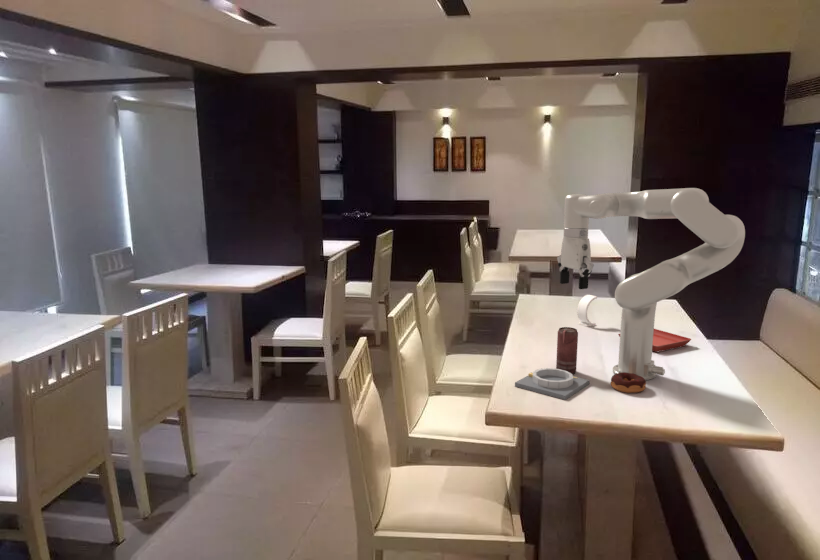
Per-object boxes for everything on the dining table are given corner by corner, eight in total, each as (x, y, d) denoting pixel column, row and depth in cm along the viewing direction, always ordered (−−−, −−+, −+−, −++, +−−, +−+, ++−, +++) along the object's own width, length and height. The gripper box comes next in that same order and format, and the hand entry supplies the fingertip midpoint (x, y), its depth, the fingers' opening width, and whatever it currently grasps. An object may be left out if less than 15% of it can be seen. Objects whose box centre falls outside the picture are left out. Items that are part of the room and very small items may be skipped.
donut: (617, 380, 179) (618, 367, 178) (650, 387, 173) (651, 374, 172) (604, 389, 171) (605, 376, 171) (638, 397, 165) (639, 384, 165)
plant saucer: (616, 342, 218) (617, 333, 218) (650, 335, 226) (651, 327, 226) (656, 355, 203) (657, 346, 202) (691, 348, 211) (692, 339, 210)
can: (553, 373, 184) (555, 330, 182) (558, 367, 190) (560, 325, 187) (573, 376, 182) (575, 332, 179) (577, 370, 187) (580, 327, 184)
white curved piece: (595, 325, 240) (597, 296, 238) (584, 327, 237) (586, 298, 235) (587, 322, 244) (588, 294, 241) (576, 324, 241) (577, 296, 239)
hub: (589, 383, 176) (589, 373, 175) (565, 399, 164) (565, 388, 163) (541, 372, 186) (541, 362, 185) (514, 386, 174) (515, 376, 173)
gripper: (603, 235, 181) (600, 290, 184) (568, 230, 197) (566, 280, 200) (583, 236, 178) (580, 292, 181) (549, 231, 194) (548, 282, 197)
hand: (573, 286), depth 191 cm, fingers open, 9 cm apart
